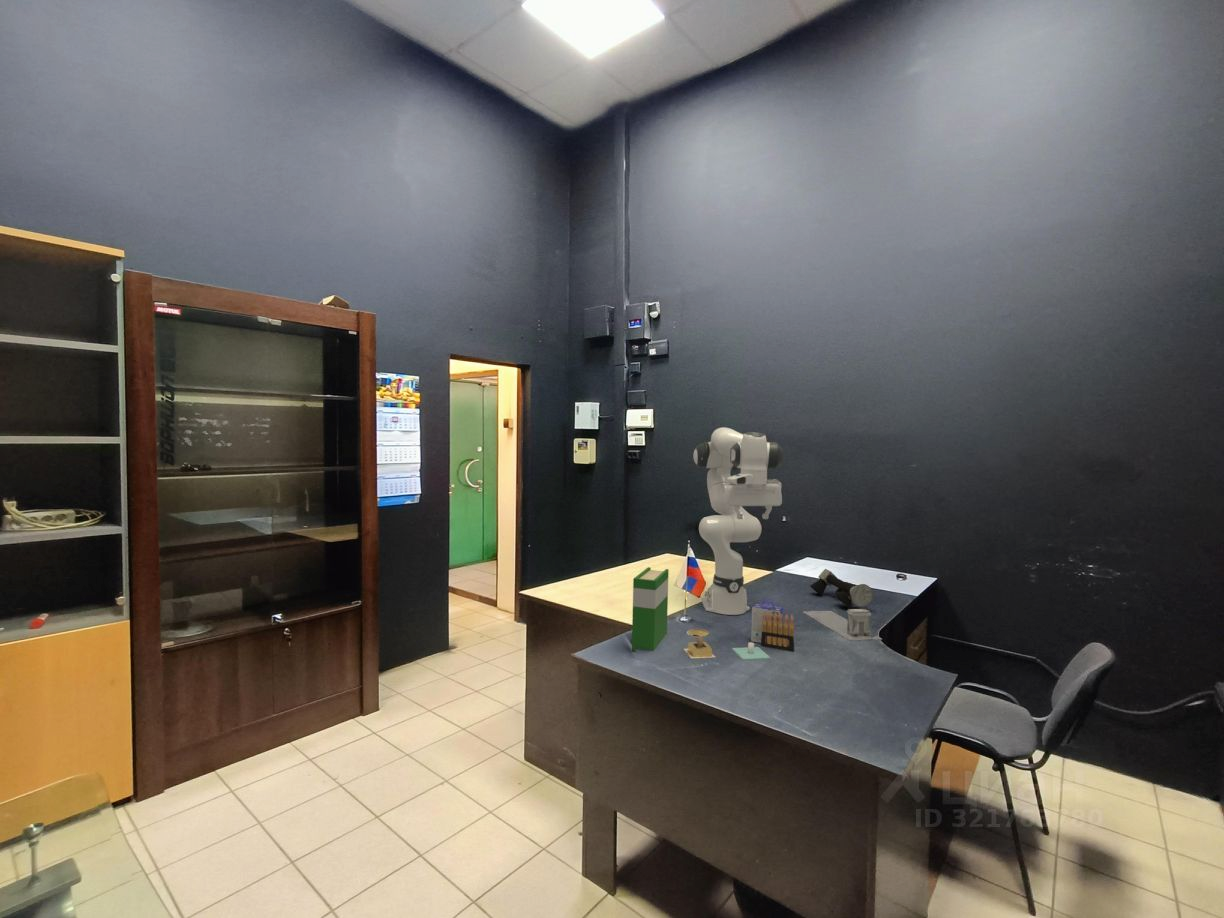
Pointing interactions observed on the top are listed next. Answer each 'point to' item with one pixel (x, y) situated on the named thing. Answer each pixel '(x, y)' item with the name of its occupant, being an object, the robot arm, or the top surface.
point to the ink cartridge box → (758, 618)
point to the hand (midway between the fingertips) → (752, 519)
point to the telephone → (844, 589)
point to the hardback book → (649, 609)
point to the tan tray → (699, 649)
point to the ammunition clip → (777, 633)
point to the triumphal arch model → (846, 623)
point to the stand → (699, 644)
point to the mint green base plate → (751, 653)
